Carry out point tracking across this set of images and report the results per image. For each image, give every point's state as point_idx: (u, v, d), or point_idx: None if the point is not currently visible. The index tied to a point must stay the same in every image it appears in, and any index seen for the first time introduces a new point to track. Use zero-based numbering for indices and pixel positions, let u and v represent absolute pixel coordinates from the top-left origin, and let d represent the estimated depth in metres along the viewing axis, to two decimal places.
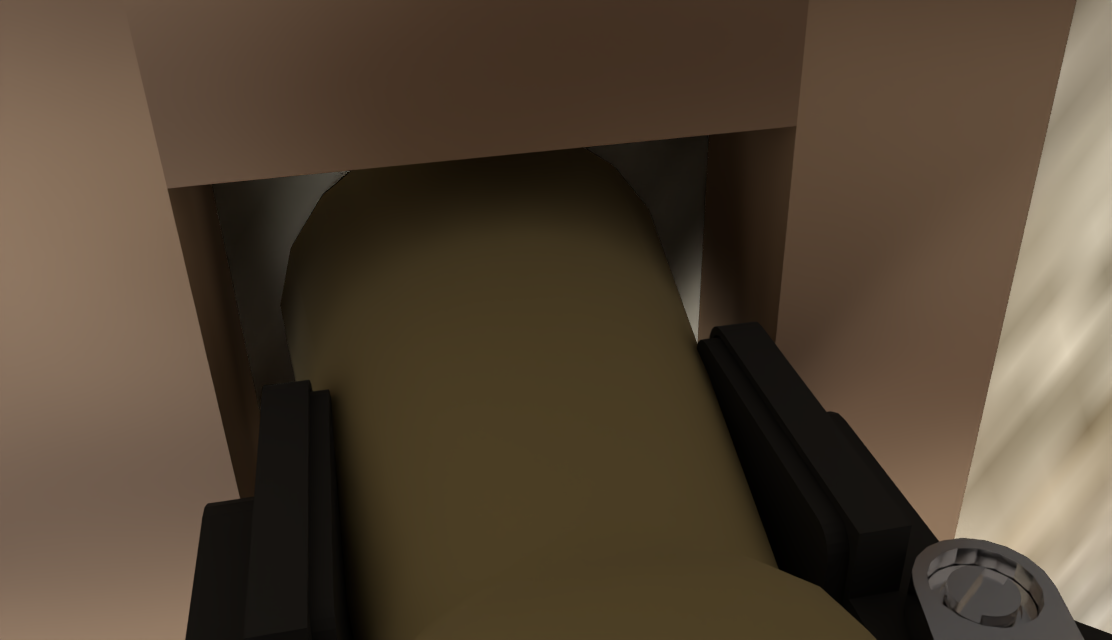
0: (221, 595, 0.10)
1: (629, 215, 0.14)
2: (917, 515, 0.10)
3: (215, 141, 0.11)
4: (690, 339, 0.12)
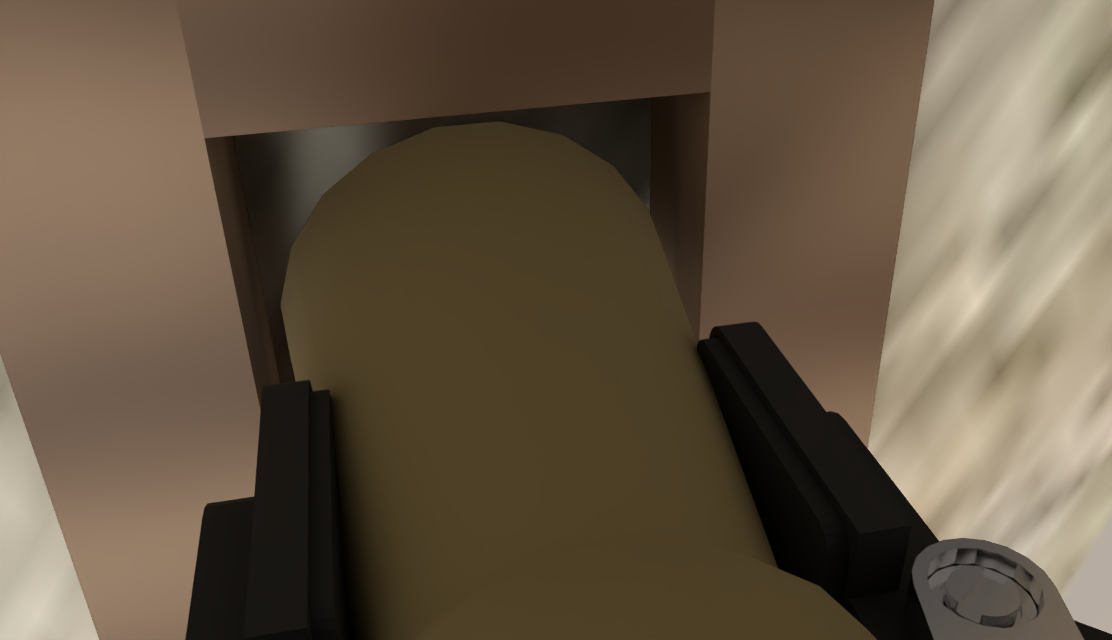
0: (221, 595, 0.10)
1: (629, 215, 0.14)
2: (917, 515, 0.10)
3: (243, 100, 0.14)
4: (690, 339, 0.13)
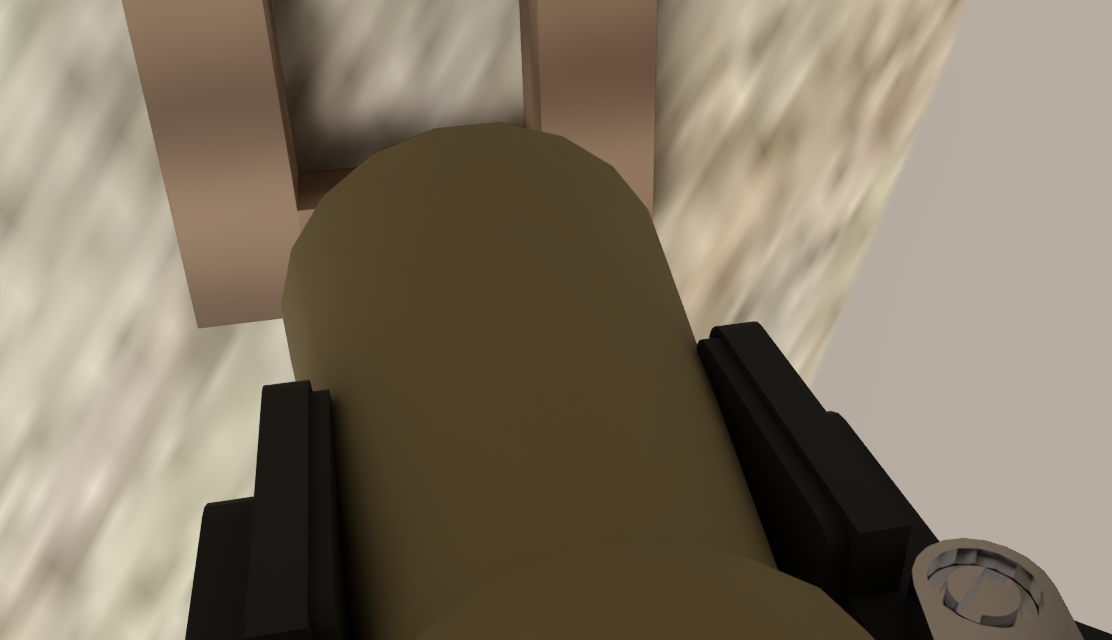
0: (221, 595, 0.10)
1: (629, 216, 0.14)
2: (917, 515, 0.10)
3: None
4: (690, 340, 0.13)
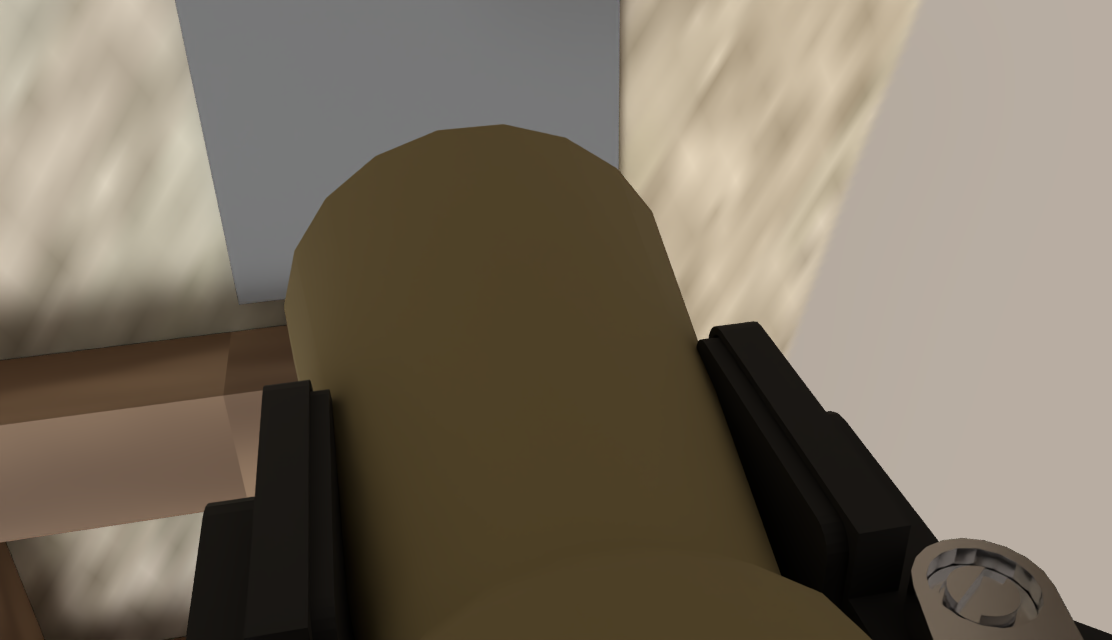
0: (221, 595, 0.10)
1: (633, 218, 0.14)
2: (916, 515, 0.10)
3: None
4: (693, 343, 0.12)
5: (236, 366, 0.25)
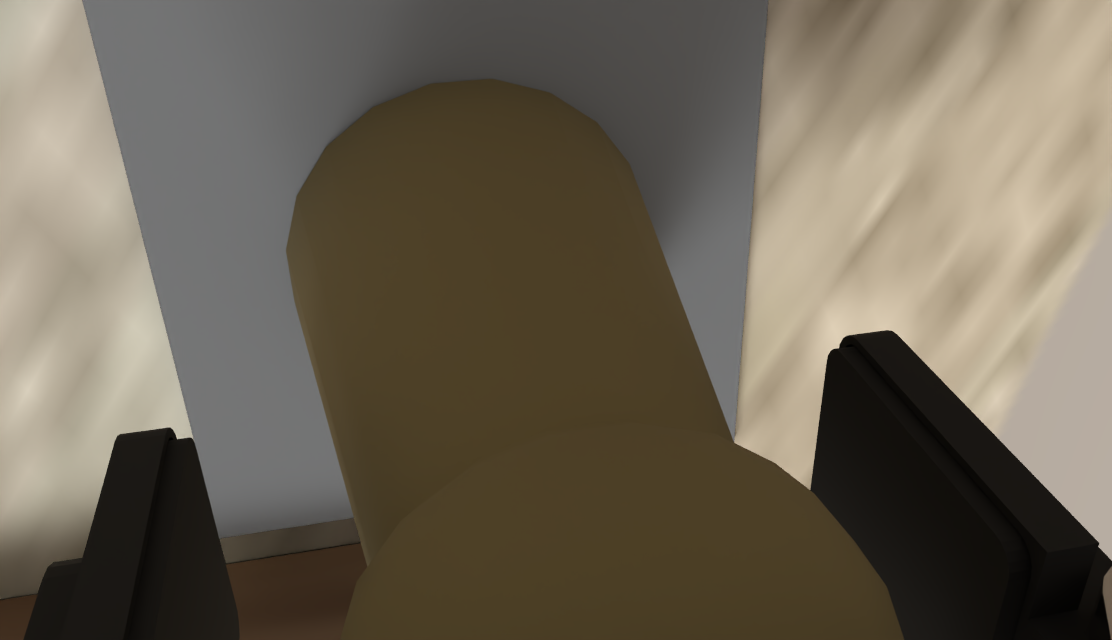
0: None
1: (611, 165, 0.15)
2: None
3: None
4: (666, 273, 0.14)
5: None
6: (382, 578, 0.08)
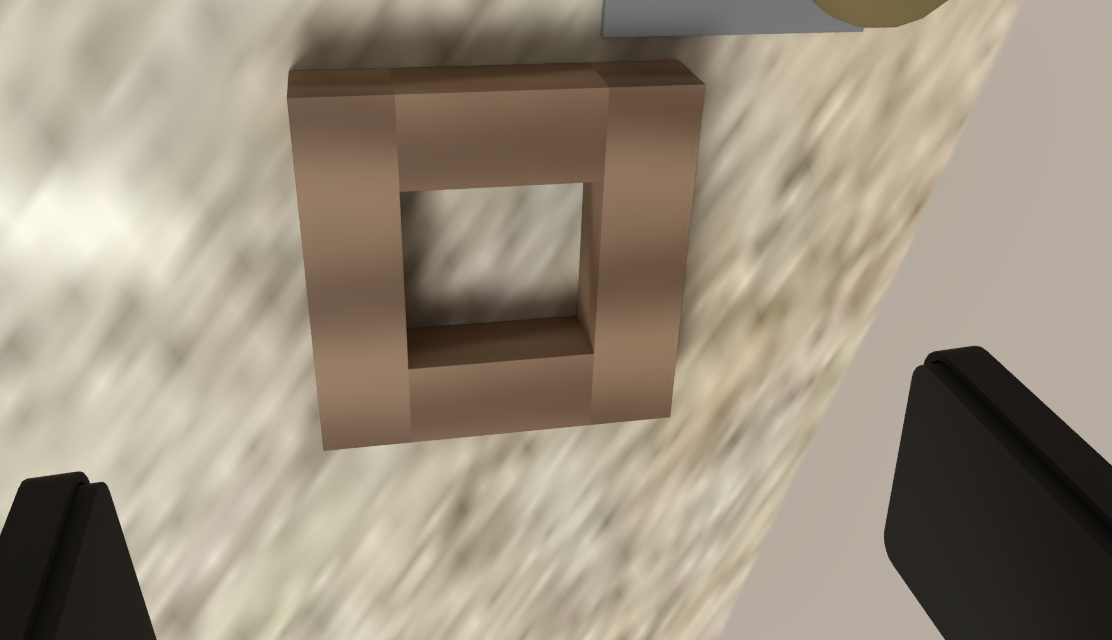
0: None
1: None
2: None
3: (416, 177, 0.35)
4: None
5: (607, 76, 0.36)
6: None
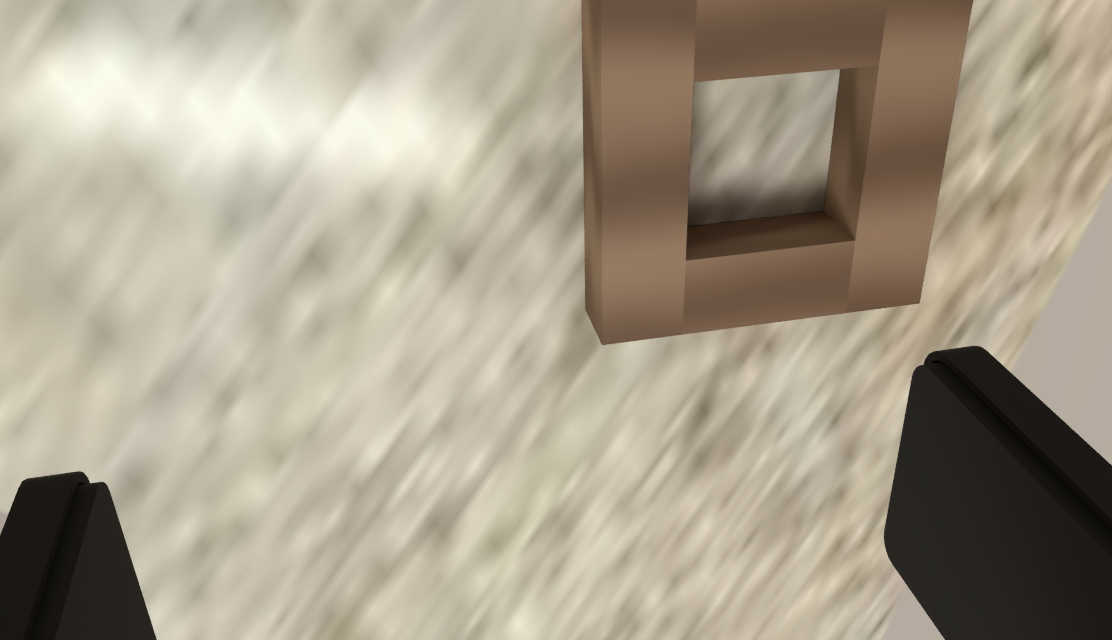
0: None
1: None
2: None
3: (709, 67, 0.37)
4: None
5: None
6: None
